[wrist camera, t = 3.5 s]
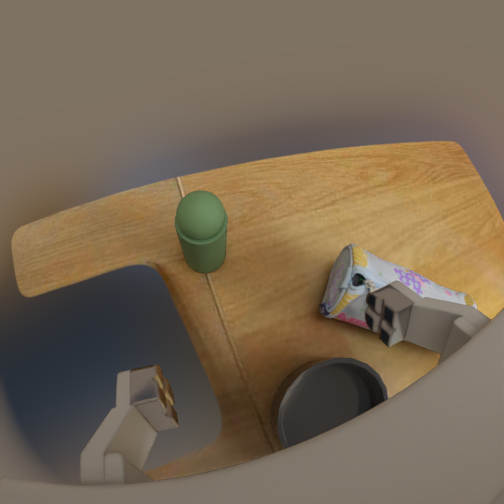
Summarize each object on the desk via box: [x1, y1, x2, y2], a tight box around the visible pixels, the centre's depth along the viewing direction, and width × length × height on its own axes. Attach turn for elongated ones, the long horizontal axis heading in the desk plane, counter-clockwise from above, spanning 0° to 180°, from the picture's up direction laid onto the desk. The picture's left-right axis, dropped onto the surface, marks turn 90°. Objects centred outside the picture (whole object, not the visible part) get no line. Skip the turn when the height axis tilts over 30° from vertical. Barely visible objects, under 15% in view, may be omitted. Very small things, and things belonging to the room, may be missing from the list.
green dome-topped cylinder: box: [175, 191, 228, 273], centre depth 29 cm, size 5×5×12 cm
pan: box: [271, 358, 388, 449], centre depth 27 cm, size 13×13×4 cm
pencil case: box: [319, 244, 477, 341], centre depth 30 cm, size 21×9×10 cm, turn 70°
